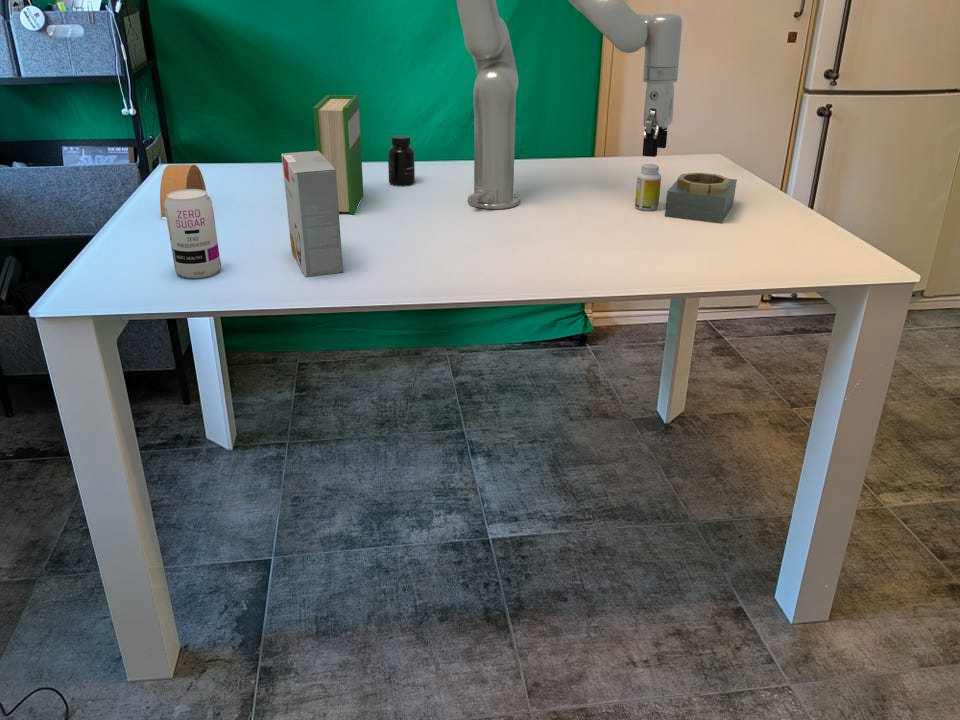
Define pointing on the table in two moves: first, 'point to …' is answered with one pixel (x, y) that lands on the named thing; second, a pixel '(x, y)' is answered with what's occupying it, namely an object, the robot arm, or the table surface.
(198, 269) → the supplement can
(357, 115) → the hardback book
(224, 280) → the table surface
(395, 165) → the supplement bottle
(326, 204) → the hard drive box
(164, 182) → the arch
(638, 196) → the supplement bottle
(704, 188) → the grey block with ring
